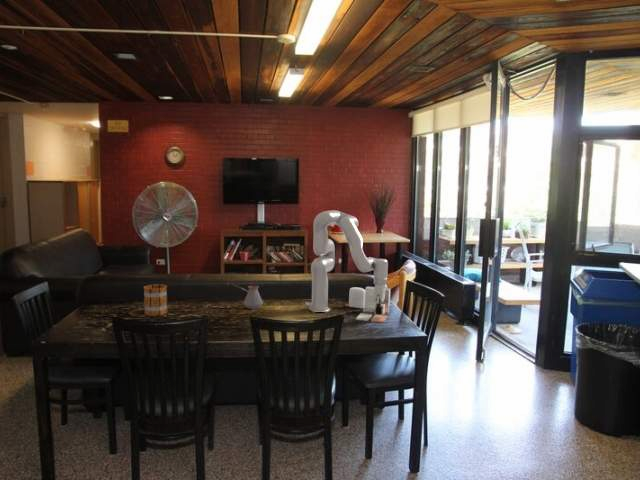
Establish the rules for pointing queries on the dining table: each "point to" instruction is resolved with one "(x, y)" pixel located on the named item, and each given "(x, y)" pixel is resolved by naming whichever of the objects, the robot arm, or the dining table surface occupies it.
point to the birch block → (382, 309)
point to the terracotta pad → (379, 318)
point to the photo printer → (357, 297)
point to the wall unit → (370, 301)
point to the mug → (155, 299)
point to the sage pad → (364, 316)
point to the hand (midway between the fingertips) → (379, 312)
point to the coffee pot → (251, 297)
